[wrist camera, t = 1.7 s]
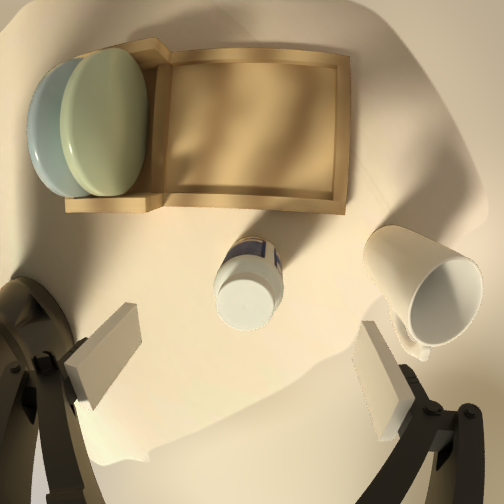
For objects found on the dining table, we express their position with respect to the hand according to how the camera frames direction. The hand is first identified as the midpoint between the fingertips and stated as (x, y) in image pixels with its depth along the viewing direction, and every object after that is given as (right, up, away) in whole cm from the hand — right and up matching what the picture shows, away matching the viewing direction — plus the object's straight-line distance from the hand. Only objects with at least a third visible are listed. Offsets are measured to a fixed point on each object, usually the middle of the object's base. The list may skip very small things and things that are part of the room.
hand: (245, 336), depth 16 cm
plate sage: (-10, +17, +10) cm, 22 cm away
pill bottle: (+1, +4, +13) cm, 14 cm away
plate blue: (-13, +17, +10) cm, 24 cm away
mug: (+15, +3, +12) cm, 19 cm away
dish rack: (-3, +16, +9) cm, 19 cm away
